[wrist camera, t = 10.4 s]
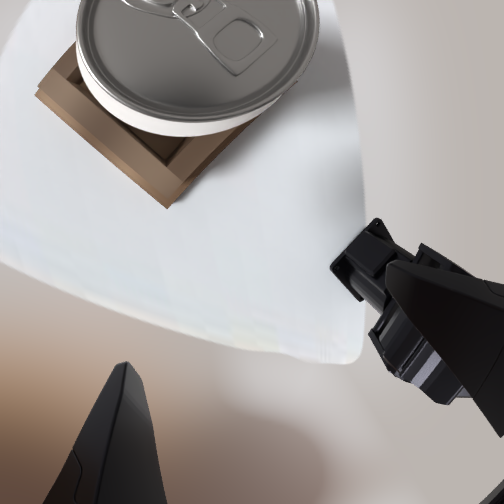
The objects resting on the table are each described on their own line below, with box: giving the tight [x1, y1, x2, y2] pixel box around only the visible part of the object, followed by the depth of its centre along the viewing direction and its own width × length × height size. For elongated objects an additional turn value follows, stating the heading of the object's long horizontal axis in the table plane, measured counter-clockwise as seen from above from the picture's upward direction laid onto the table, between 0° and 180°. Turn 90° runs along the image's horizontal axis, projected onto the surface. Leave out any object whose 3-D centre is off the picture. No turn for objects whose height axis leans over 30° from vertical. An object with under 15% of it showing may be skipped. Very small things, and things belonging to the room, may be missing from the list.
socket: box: [35, 41, 298, 209], centre depth 14 cm, size 12×12×4 cm
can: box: [76, 0, 320, 137], centre depth 10 cm, size 6×6×12 cm
